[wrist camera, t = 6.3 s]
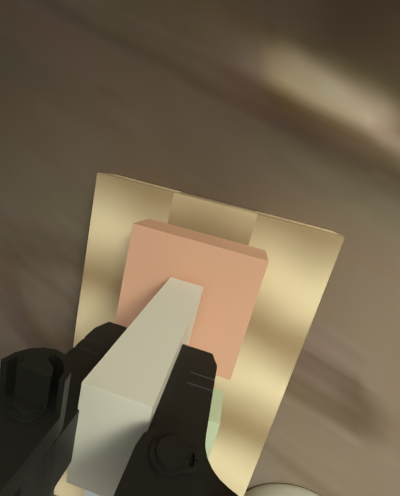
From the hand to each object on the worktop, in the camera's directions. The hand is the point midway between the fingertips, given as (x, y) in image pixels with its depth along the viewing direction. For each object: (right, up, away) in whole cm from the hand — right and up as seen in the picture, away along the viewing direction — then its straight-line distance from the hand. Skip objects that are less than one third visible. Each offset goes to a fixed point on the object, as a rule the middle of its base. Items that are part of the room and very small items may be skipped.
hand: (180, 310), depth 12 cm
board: (-1, -6, +7) cm, 9 cm away
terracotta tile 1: (+1, +1, +4) cm, 5 cm away
